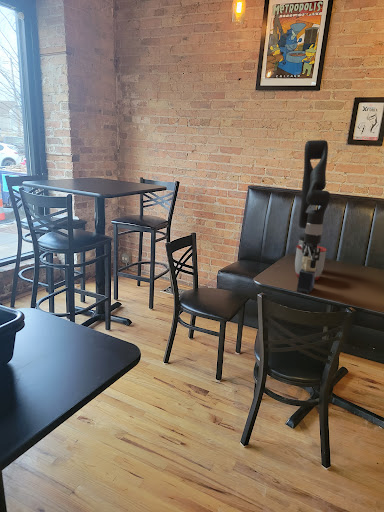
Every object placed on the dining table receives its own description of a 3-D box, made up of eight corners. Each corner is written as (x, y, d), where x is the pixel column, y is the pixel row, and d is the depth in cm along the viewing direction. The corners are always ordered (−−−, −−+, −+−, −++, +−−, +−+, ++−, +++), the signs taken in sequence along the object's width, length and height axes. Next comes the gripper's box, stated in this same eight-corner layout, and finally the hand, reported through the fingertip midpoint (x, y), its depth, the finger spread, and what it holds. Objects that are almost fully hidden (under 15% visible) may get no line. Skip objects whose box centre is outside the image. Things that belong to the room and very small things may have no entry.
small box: (309, 294, 171) (312, 273, 168) (296, 291, 174) (298, 271, 172) (314, 288, 180) (317, 268, 177) (301, 285, 183) (304, 266, 180)
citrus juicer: (308, 271, 208) (313, 238, 203) (328, 281, 192) (334, 245, 187) (285, 273, 203) (289, 238, 198) (303, 283, 187) (308, 246, 182)
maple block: (301, 268, 177) (302, 256, 175) (311, 268, 177) (312, 256, 176) (305, 271, 172) (307, 259, 170) (315, 271, 172) (317, 259, 171)
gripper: (299, 229, 176) (295, 261, 180) (312, 235, 162) (307, 269, 167) (314, 230, 177) (310, 261, 181) (327, 236, 163) (322, 270, 167)
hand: (308, 265), depth 174 cm, fingers open, 8 cm apart
